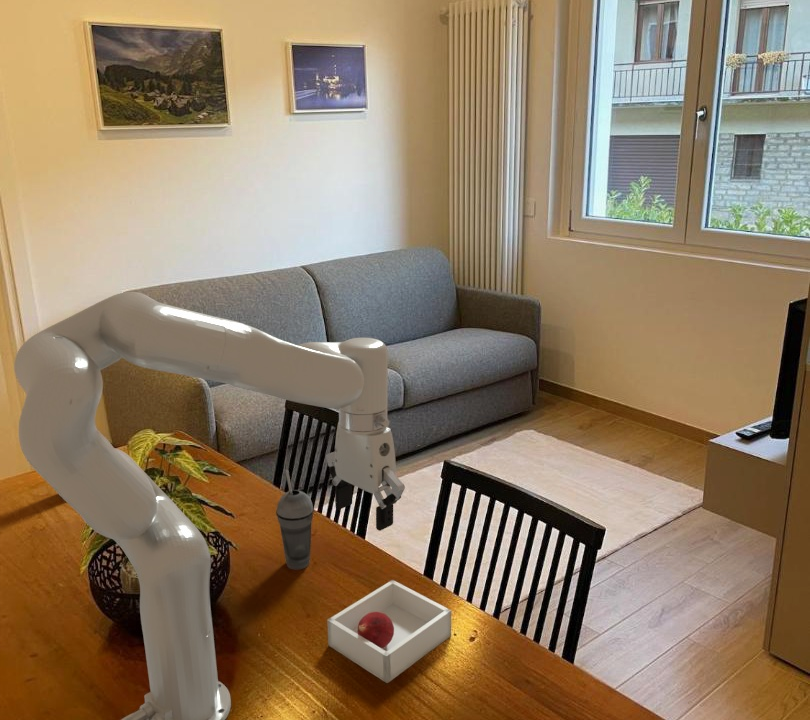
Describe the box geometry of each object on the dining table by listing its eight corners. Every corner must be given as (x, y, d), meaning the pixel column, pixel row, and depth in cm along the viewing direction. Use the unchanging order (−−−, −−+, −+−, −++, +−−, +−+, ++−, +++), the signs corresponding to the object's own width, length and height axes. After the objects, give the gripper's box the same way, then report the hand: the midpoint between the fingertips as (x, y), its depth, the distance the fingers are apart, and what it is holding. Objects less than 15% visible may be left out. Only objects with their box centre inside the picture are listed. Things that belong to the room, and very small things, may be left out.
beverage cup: (306, 576, 150) (301, 481, 144) (272, 570, 152) (266, 476, 146) (322, 556, 156) (318, 465, 150) (289, 550, 158) (284, 460, 152)
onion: (395, 608, 131) (370, 602, 125) (407, 641, 128) (381, 636, 121) (368, 624, 132) (341, 619, 126) (379, 657, 129) (352, 653, 123)
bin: (387, 683, 121) (386, 656, 120) (328, 645, 130) (327, 619, 128) (451, 635, 132) (451, 610, 131) (392, 603, 141) (392, 579, 139)
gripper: (420, 426, 118) (418, 527, 123) (344, 398, 130) (345, 492, 135) (384, 439, 113) (384, 544, 118) (309, 409, 124) (311, 506, 129)
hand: (363, 516), depth 126 cm, fingers open, 9 cm apart
